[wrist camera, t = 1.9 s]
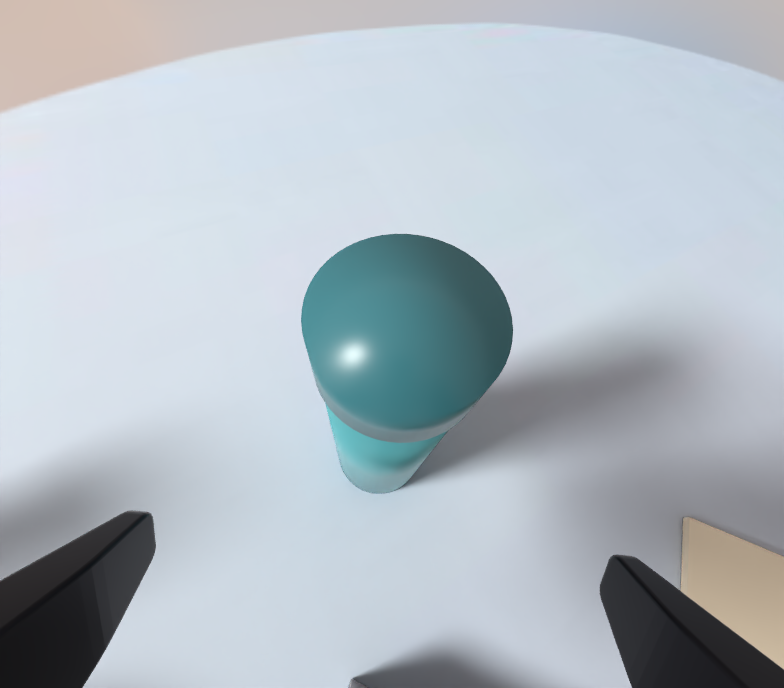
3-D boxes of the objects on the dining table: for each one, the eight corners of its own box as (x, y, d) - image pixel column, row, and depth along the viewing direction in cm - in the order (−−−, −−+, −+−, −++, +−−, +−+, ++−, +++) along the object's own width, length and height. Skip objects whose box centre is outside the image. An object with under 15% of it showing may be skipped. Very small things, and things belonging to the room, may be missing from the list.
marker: (402, 510, 18) (479, 455, 6) (322, 474, 18) (258, 361, 7) (432, 429, 20) (533, 274, 8) (358, 398, 20) (357, 210, 9)
